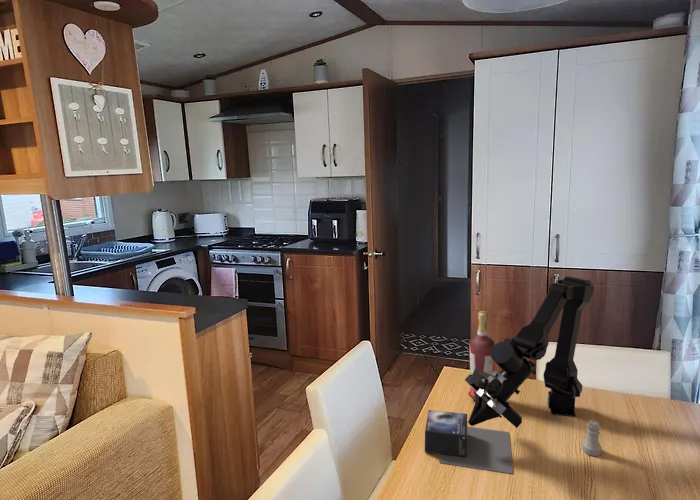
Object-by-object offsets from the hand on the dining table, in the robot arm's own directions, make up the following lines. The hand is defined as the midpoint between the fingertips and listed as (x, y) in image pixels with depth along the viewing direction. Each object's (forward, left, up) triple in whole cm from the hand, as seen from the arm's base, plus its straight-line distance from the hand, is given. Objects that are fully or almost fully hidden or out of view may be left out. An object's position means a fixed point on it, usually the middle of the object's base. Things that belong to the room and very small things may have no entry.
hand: (469, 424), depth 115 cm
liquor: (-3, -27, -7) cm, 28 cm away
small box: (0, -1, -4) cm, 4 cm away
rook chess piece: (-30, -7, -7) cm, 31 cm away
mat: (-2, -2, -7) cm, 8 cm away
